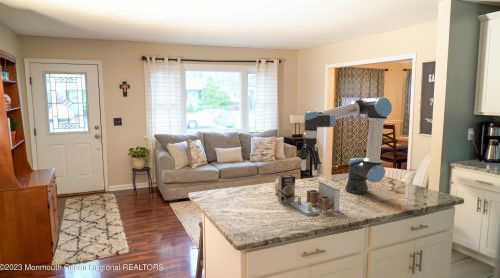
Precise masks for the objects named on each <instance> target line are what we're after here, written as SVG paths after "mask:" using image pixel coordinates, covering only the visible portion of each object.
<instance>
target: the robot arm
mask: <svg viewBox="0 0 500 278" xmlns="http://www.w3.org/2000/svg"><path fill="white" fill-rule="evenodd" d="M392 109H393V105H392V103H391V101H390V99H388V98H386V97H382V96H374V97H373V96H367V97H363V98H360V99H357V100H356V99H355V100H353V101H351V102H350V103H348V104H345V105H341V106H337V107H333V108H329V109H325V110H320V111H306V112H305V113H304V129H303V130H304V132H303V136H304V138H303V144H302V148H301V151H300V155H299V158H300V159H301V168H300V169H301V171H306V170H307V157H308V155H310V157H311V160H312V162H313V163H312V176H317V175H318V166H319V164H320V165H321V161H320V155H319V150H318V149H319V148H318V146H316V145H317V143H318V142H317V140H318V138H317V137H318V128H333V127H335V126H336V124H337V120H339V119H342V118H346V117H350V116H359V115H366V116H367V118H366V119H368V121H369V123H368V131H367V141H366V142H367V143H366V151H365V154H366V155H365V157H354V158H353V157H352V158H350V159H349V162H348V177H347V181H346V185H345V188H344V190H345V191H346V192H347V193H350V194H355V195H364V194H365V195H366V194H368V192H369V186H368V184H367V181H369V182H370V183H378V182H380V181H381V180H383V179H384V177H385V175H386V168H385V167H384V166H383V161H382V160H381V153H382V152H381V151H382V145H383V144H382V142H383V135H384V134H383V133H384V132H383V131H384V124H385V121H386V120H387V118H388V116H390V114H391V113H392Z"/></svg>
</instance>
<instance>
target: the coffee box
mask: <svg viewBox="0 0 500 278" xmlns="http://www.w3.org/2000/svg"><path fill="white" fill-rule="evenodd" d="M277 179H278V193H277V201H278V202H279V203H281V204H283V203H284V204H285V203H290V202H295V198H296V197H295V196H296V195H295V194H296V176H295V175H293V174H278V178H277Z"/></svg>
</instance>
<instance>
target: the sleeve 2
mask: <svg viewBox="0 0 500 278" xmlns="http://www.w3.org/2000/svg"><path fill="white" fill-rule="evenodd" d="M317 210H318V211H319V213H322V214H327V213H326V212H328V213H332V211H333V210H332V198H330V197H328V196H318V205H317Z"/></svg>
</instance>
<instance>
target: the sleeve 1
mask: <svg viewBox="0 0 500 278" xmlns="http://www.w3.org/2000/svg"><path fill="white" fill-rule="evenodd" d="M318 196H320V192H319V191H318V190H316V189H309V190H307V191H306V203H307V204H308V203H312V207H313V206H318Z"/></svg>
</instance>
